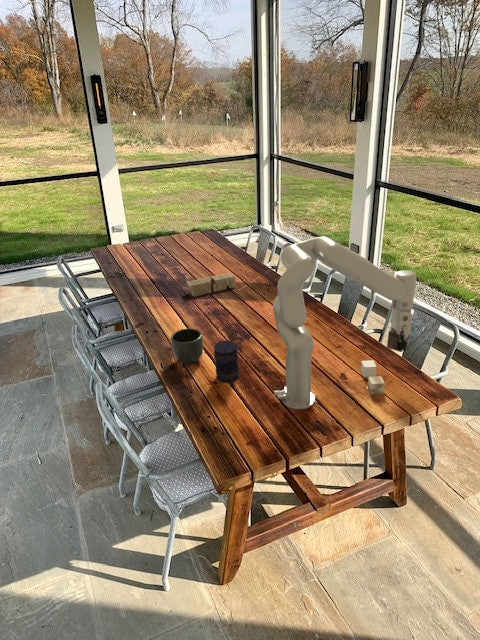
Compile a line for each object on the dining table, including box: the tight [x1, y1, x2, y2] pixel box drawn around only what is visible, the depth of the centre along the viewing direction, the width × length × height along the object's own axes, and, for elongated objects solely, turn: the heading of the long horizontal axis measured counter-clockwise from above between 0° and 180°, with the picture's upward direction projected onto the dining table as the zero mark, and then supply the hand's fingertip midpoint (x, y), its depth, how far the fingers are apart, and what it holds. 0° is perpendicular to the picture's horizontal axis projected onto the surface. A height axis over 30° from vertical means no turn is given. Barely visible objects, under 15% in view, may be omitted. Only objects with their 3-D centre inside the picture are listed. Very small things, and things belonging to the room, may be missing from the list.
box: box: [386, 328, 410, 353], centre depth 179 cm, size 6×6×7 cm
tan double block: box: [185, 272, 236, 297], centre depth 283 cm, size 8×8×29 cm
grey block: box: [360, 359, 377, 378], centre depth 193 cm, size 5×5×5 cm
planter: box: [170, 328, 204, 366], centre depth 209 cm, size 14×14×13 cm
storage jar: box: [213, 340, 240, 384], centre depth 195 cm, size 10×10×15 cm
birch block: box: [367, 375, 386, 395], centre depth 182 cm, size 5×5×5 cm
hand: (397, 343), depth 180 cm, fingers closed on box, 8 cm apart
